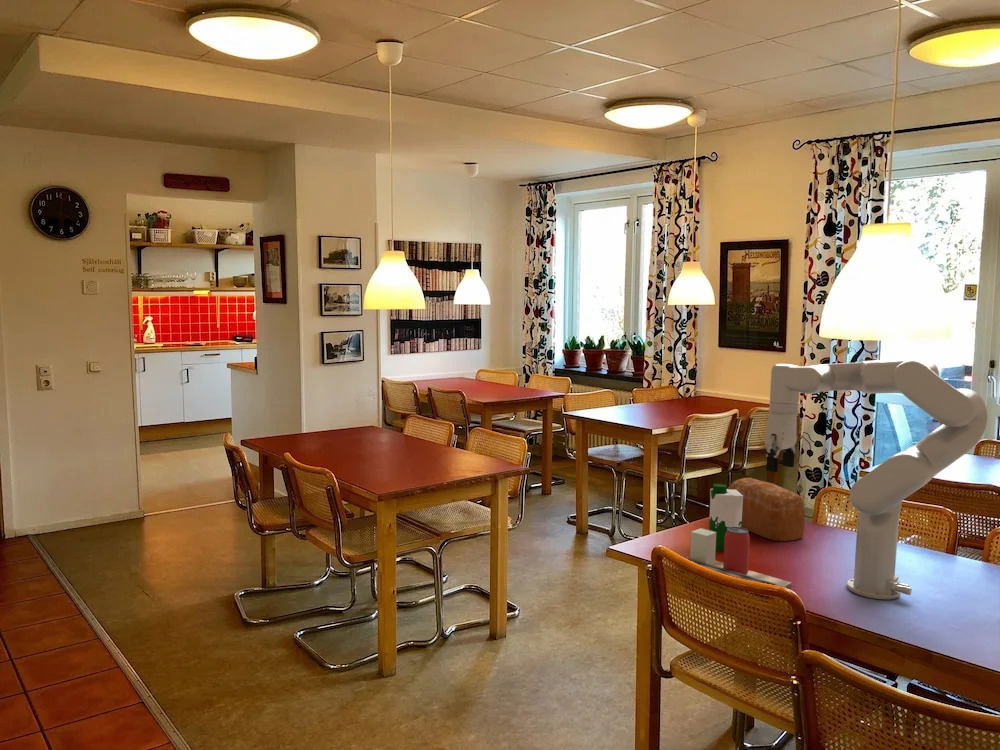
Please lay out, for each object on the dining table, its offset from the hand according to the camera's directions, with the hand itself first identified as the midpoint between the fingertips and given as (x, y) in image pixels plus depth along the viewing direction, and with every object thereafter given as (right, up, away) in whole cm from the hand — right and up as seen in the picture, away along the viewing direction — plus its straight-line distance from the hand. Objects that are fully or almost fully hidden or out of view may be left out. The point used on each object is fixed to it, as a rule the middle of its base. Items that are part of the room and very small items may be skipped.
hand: (780, 468), depth 214 cm
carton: (-21, -27, +2) cm, 34 cm away
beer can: (-14, -28, -5) cm, 32 cm away
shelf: (-14, -29, -5) cm, 33 cm away
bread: (+8, -25, +39) cm, 47 cm away
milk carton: (-11, -27, +16) cm, 33 cm away
